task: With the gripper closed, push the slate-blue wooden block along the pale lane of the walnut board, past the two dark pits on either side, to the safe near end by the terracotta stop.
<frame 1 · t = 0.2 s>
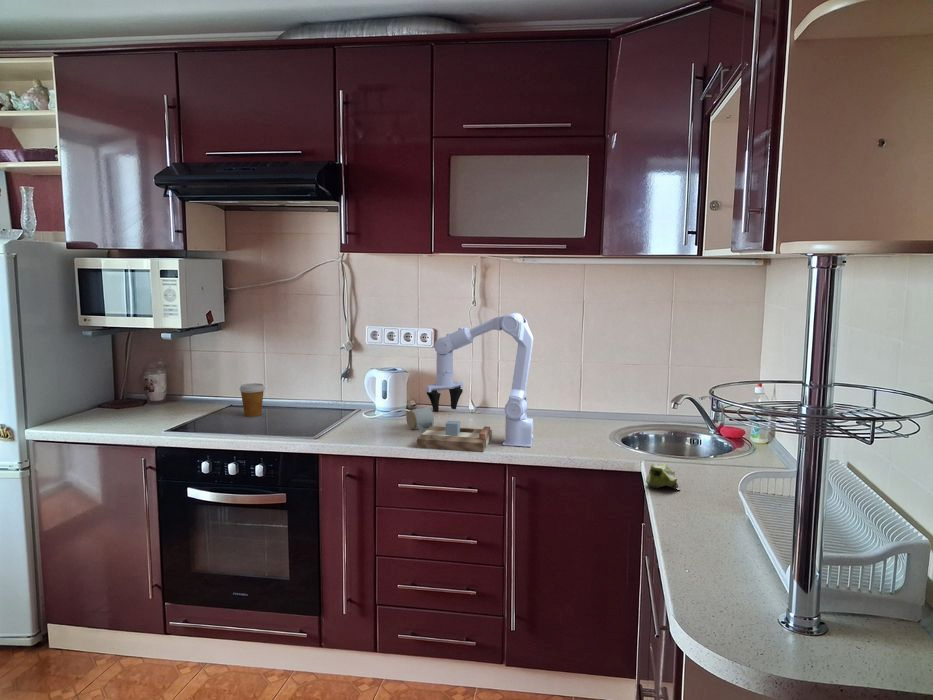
hand: (444, 410, 229), 10 cm above the worktop, tool pointing down, fingers open, 7 cm apart
block: (452, 433, 223), point 3 cm above the worktop, touching trap board
disposable coffee cup: (253, 415, 261), on the worktop
fruit: (660, 488, 180), on the worktop
ceramic mug: (422, 429, 242), on the worktop
trap board: (455, 442, 223), on the worktop
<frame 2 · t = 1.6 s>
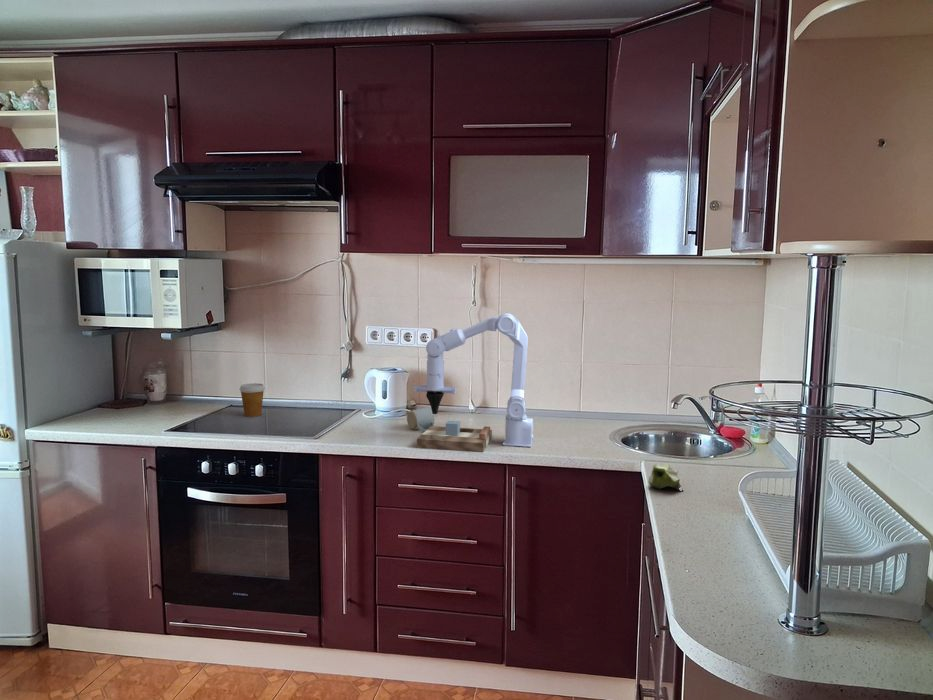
hand: (435, 413, 224), 10 cm above the worktop, tool pointing down, fingers closed
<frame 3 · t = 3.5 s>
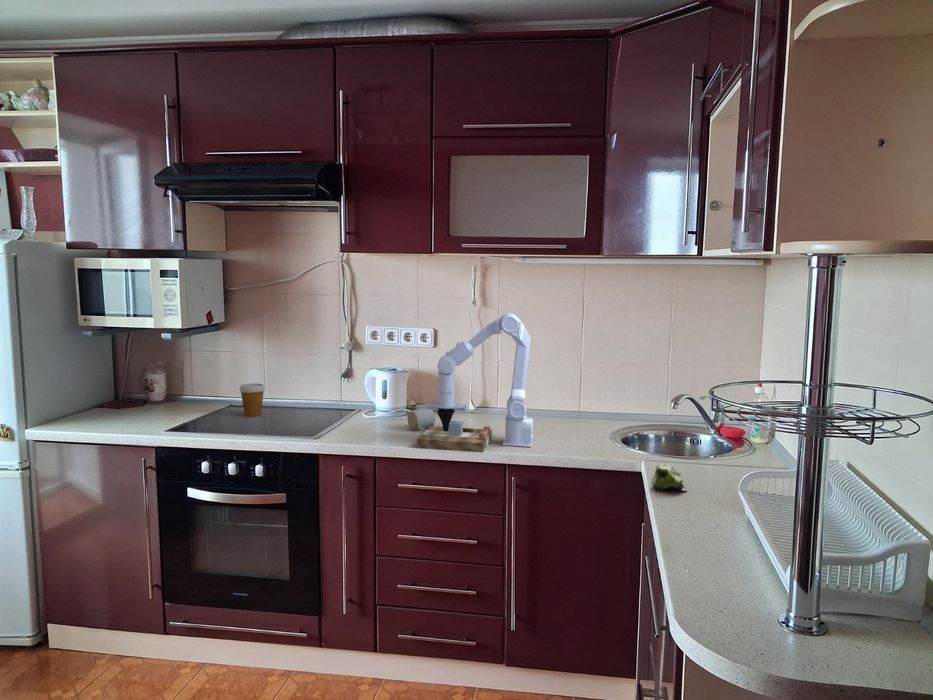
hand: (446, 430, 223), 4 cm above the worktop, tool pointing down, fingers closed
block: (455, 434, 223), point 3 cm above the worktop, touching gripper
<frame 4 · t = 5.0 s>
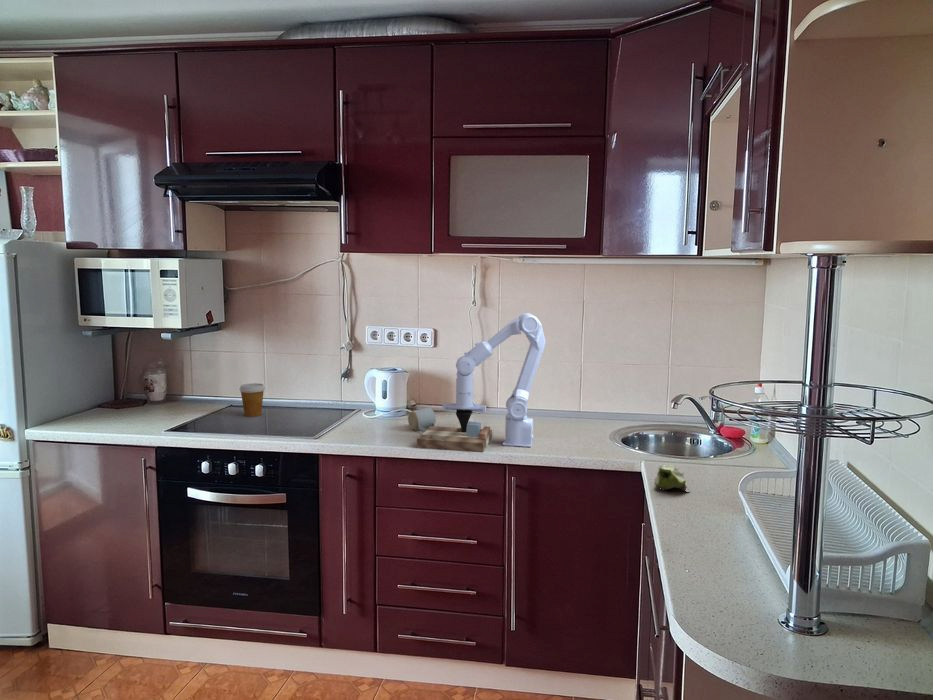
hand: (464, 431, 222), 4 cm above the worktop, tool pointing down, fingers closed
block: (473, 435, 221), point 3 cm above the worktop, touching gripper, trap board
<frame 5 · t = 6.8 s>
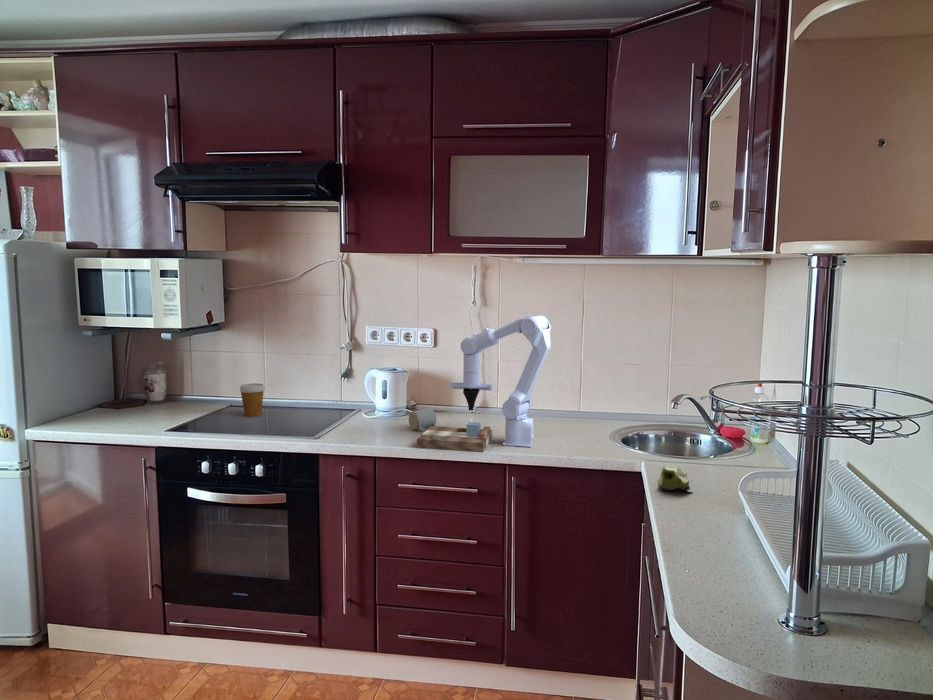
hand: (471, 409, 231), 9 cm above the worktop, tool pointing down, fingers closed
block: (473, 435, 221), point 3 cm above the worktop, touching trap board
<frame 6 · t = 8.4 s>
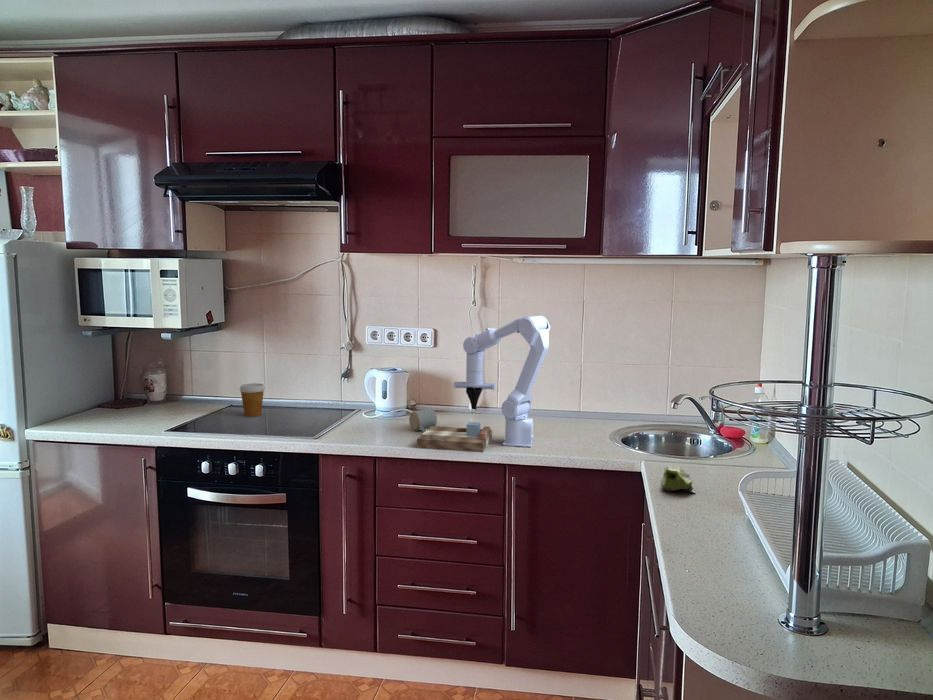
hand: (474, 408, 233), 9 cm above the worktop, tool pointing down, fingers closed
at the end: block 0.1 cm from the target spot on the trap board, point 3.0 cm above the trap board's base; block tilted 0° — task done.
